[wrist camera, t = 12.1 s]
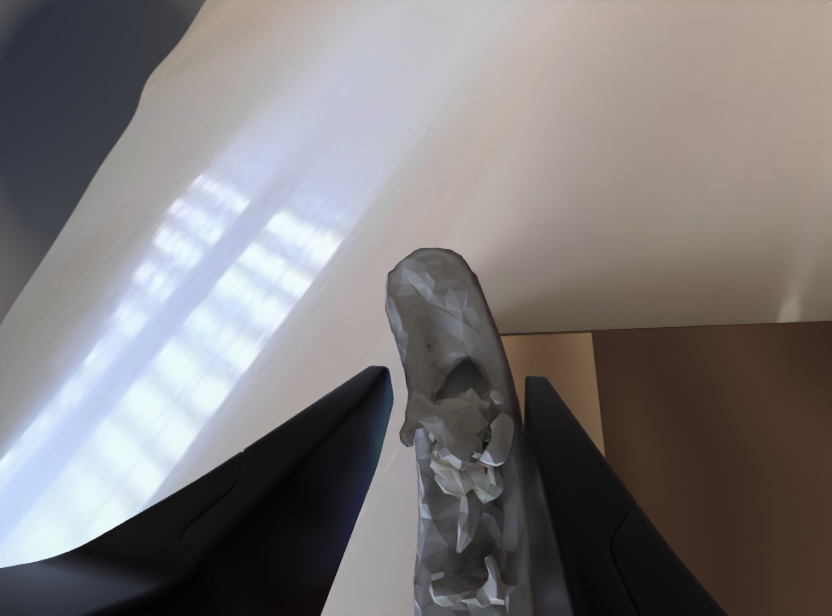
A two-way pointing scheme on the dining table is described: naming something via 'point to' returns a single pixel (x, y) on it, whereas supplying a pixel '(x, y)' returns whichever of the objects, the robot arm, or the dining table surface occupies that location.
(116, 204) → the dining table surface
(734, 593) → the serving board
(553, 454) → the robot arm
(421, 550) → the flask
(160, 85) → the dining table surface
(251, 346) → the dining table surface
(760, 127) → the dining table surface
